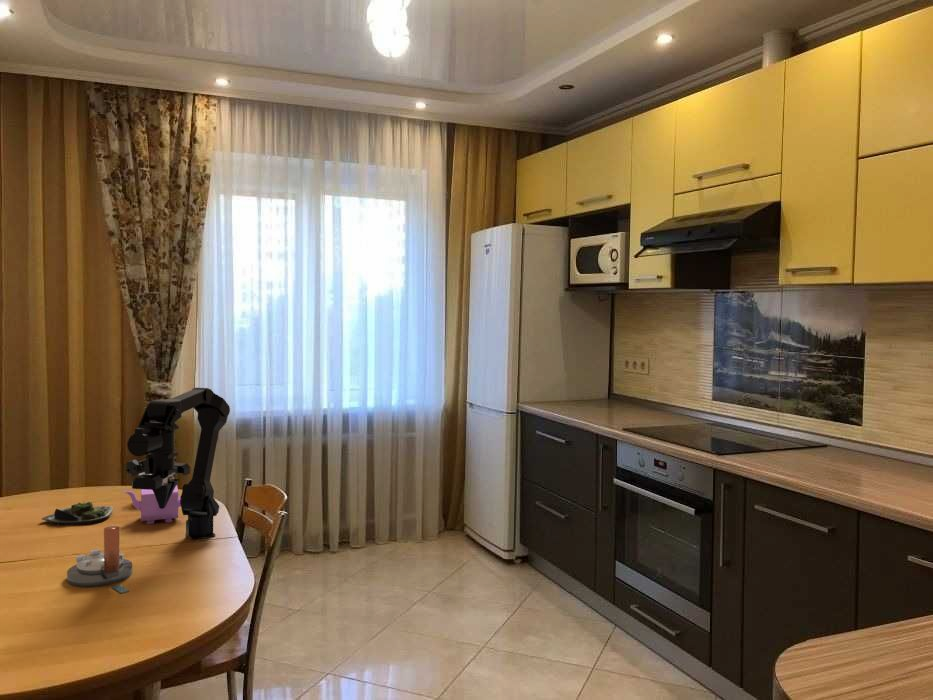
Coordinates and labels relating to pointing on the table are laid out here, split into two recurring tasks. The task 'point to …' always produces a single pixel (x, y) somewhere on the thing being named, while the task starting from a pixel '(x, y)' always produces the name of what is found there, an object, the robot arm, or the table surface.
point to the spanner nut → (103, 556)
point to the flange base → (99, 577)
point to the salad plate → (79, 514)
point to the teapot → (155, 506)
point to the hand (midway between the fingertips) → (162, 508)
